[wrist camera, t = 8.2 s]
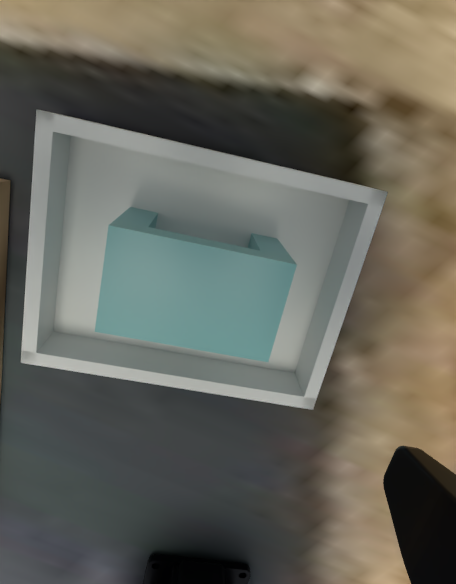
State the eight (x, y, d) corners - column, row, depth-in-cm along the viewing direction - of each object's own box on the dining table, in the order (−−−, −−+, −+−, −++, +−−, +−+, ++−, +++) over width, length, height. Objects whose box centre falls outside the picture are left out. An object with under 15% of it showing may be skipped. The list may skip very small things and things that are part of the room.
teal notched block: (255, 318, 20) (268, 362, 16) (117, 292, 19) (94, 331, 15) (277, 238, 18) (296, 264, 14) (130, 206, 18) (108, 225, 14)
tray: (300, 378, 22) (312, 409, 19) (44, 334, 20) (20, 362, 17) (362, 185, 18) (387, 191, 16) (62, 114, 17) (36, 109, 14)
